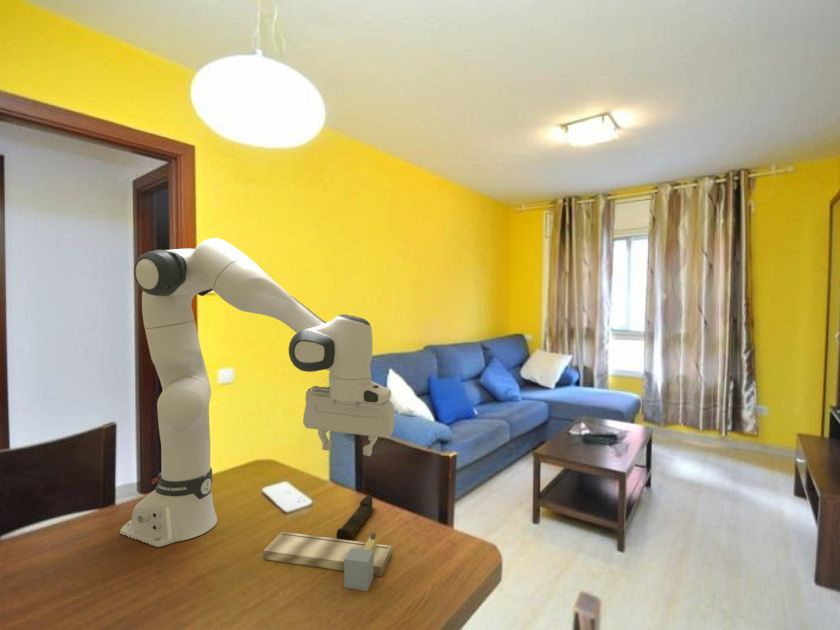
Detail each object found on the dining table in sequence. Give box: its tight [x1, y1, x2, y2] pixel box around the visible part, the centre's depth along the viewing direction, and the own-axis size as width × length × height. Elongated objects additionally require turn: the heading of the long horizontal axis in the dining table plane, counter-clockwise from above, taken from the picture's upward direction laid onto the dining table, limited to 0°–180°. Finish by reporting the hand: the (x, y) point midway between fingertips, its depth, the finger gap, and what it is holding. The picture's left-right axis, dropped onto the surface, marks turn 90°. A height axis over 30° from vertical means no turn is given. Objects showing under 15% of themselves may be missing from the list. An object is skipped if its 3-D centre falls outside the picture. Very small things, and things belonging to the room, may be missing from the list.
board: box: [263, 531, 393, 577], centre depth 97 cm, size 28×8×2 cm, turn 79°
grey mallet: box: [343, 531, 378, 592], centre depth 92 cm, size 5×12×6 cm, turn 169°
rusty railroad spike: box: [335, 495, 374, 541], centre depth 111 cm, size 19×4×5 cm, turn 163°
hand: (346, 452), depth 92 cm, fingers open, 8 cm apart
